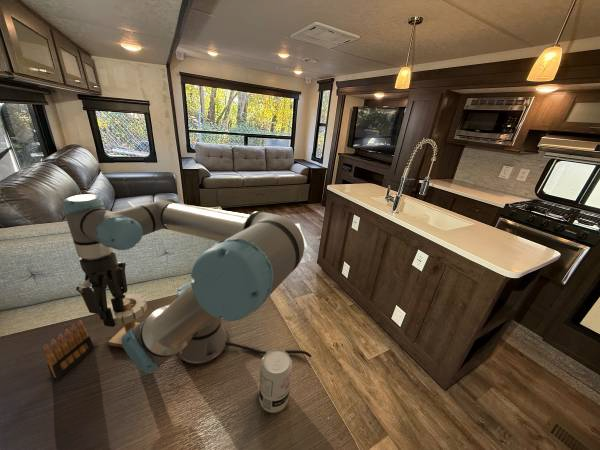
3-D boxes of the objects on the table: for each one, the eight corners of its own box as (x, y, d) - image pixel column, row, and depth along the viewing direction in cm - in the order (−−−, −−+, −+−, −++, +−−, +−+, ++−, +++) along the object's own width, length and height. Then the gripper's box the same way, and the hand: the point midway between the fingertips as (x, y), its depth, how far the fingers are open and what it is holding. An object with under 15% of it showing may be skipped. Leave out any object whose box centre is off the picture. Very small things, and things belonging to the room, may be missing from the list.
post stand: (154, 328, 86) (147, 295, 80) (134, 350, 78) (126, 315, 72) (130, 324, 87) (122, 291, 81) (109, 345, 79) (98, 309, 73)
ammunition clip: (57, 379, 68) (43, 348, 63) (51, 377, 68) (37, 346, 63) (94, 347, 77) (84, 318, 73) (89, 346, 78) (79, 317, 73)
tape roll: (155, 305, 81) (153, 299, 80) (122, 330, 72) (120, 323, 71) (129, 295, 84) (128, 289, 83) (94, 318, 75) (92, 311, 74)
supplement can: (261, 382, 72) (263, 345, 66) (289, 385, 72) (293, 348, 66) (256, 412, 65) (257, 374, 59) (287, 415, 65) (291, 377, 59)
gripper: (109, 238, 73) (124, 300, 82) (51, 267, 58) (78, 339, 67) (133, 241, 72) (145, 304, 81) (80, 272, 57) (103, 345, 66)
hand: (115, 320), depth 74 cm, fingers closed on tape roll, 3 cm apart
